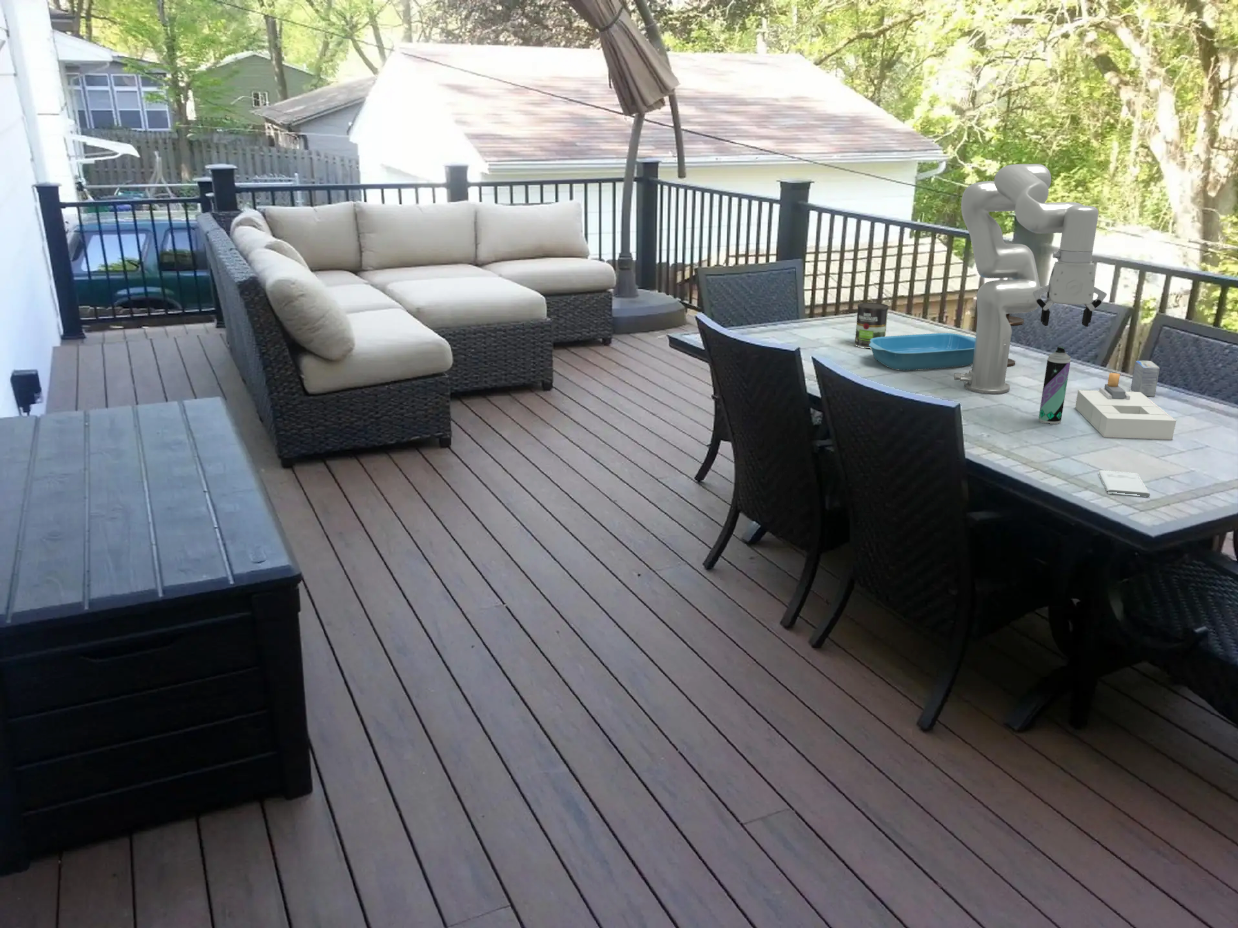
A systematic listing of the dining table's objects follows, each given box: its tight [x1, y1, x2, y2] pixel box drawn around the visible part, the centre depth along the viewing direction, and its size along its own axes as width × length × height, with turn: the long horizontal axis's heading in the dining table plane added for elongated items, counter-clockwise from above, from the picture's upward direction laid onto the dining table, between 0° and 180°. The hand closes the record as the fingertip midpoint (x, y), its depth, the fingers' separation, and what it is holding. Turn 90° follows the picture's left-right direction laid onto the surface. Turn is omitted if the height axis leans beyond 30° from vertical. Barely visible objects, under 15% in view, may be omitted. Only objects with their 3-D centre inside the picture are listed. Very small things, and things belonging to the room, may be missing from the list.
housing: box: [1074, 387, 1177, 441], centre depth 251 cm, size 16×25×6 cm, turn 171°
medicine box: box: [1130, 360, 1160, 398], centre depth 276 cm, size 8×4×9 cm, turn 168°
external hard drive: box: [1098, 469, 1151, 498], centre depth 212 cm, size 2×8×12 cm
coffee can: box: [854, 302, 890, 350], centre depth 331 cm, size 10×10×14 cm
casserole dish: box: [869, 332, 976, 371], centre depth 311 cm, size 37×22×7 cm, turn 101°
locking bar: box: [1103, 372, 1126, 399], centre depth 257 cm, size 3×7×5 cm, turn 172°
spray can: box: [1037, 345, 1072, 425], centre depth 250 cm, size 6×6×20 cm
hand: (1064, 325), depth 245 cm, fingers open, 9 cm apart
